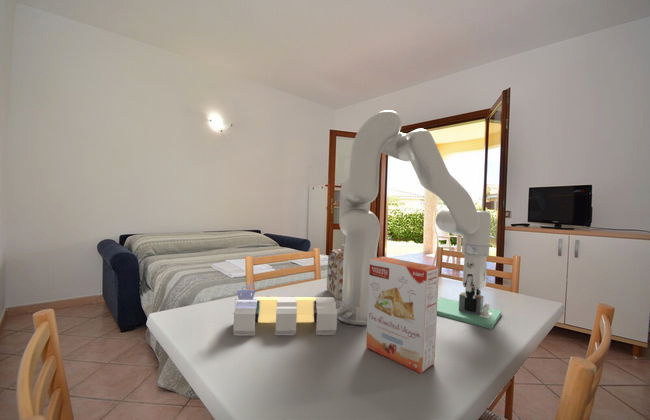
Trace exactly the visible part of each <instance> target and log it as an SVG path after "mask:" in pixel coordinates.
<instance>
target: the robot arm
mask: <svg viewBox="0 0 650 420" xmlns="http://www.w3.org/2000/svg"><path fill="white" fill-rule="evenodd" d="M401 130H402V119H401V115H399V113H397V112H396V111H394V110H390V109H389V110H388V109H387V110H382V111H378V112H376V113H375V114H373V115H372V116H370V117H369V118H368V119H367V120H366V121H364V123H363V124H362V125H361V127H360V128H359V130H358V131H357V133H356V134H355V137H354V140H353V142H352V146H351V151H350V162H349V174H348V176H347V177H346V178H345V179H344V180H343V182H342V183H341V187H340V194H339V210H338V211H339V213H338V222H339V223H338V225H339V228H340V231H341V232H342V233H343V235H345V241H344V244H345V247H344V260H343V288H342V299H341V303H340V307H339V308H338V309H337V320H339V321H341V322H343V323H346V324H350V325H356V326H367V316H368V293H369V271H370V259H372V258H378V256H377V255H378V248H379V247H378V246H379V242H380V241H379V240H380V235H381V225H380V224H381V223H380V221H379V218H378V217H377V215H376V214H375V213H374V212H372V210H369V205H370V203H373V201H375V200H376V198H377V197H378V194H379V190H380V189H379V188H380V187H379V185H380V183H379V182H380V161H381V155H382V154H385V155H387V156H389V157H391V158H394V159H397V160H399V161H403V162H410V163H411V166H412V167H413V170H414V172H415V174H416V176H417V178H418V180H419V183H420V185H421V186H422V187H423V188H424V189H426V190H428V191H429V192H430V193H432V194H434V195H435V196H437V197H438V198H439V199H440V200H441V201H442V202H443V203H444V205H445V206H446V208H445V209H443V210H440V211H439V212H438V213H437V214H436V216H435V224H436V226H437V228H438V229H439V230H441V231H442V232H445V233H448V234H456V235H460V236H462V241H461V242H462V244H461V245H462V246H461V254H462V255H464V259H463V270H462V271H463V272H462V287H464V288H465V289H464V292H465V306H464V309H465V310H466V311H471V312H476V304H477V299H476V295H481V293H482V289H483V288H484V287H486V286H487V258H489V256H490V239H491V221H492V220H491V219H492V215H491V212H489V211H488V210H487V211H486V210H477V208H476V206H475V205H476V204H475V203H474V201H473V199H472V197H471V196H470V194H469V192H468V191H467V190H466V188H465V187H464V186H463V185H461V183H460V182H459V181H458V180H457V179H456V178H455V177H453V175H451V173H450V172H449V170H448V168H447V166H446V163H445V161H444V159H443V157H442V155H441V152H440V150H439V147H438V146H437V143H436V141H435V139H434V137H433V135H432V134H431V132H430V131H429V130H427V129H424V128H417V129H415V130H412V131H410V132H408V133H403V132H402V131H401ZM400 131H401V132H400Z"/></svg>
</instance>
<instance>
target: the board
mask: <svg viewBox="0 0 650 420" xmlns="http://www.w3.org/2000/svg"><path fill="white" fill-rule="evenodd" d="M437 316H440V317H444V318H448V319H452V320H456V321H460V322H463V323H467V324H471V325H476V326H479V327H484V328H487V329H491V330H493V328H494V326H496V324H497V322H498V321H499V319H500V318H501V316H502V310H498V309H495V308H494V309H493V308H490V303H488V302H486V303H485V304H484V305H483V312H482V313H481V315H476V314H472V313H467V312H463V311H459V301H458V300H453V299H448V298H444V297H438V301H437Z"/></svg>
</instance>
